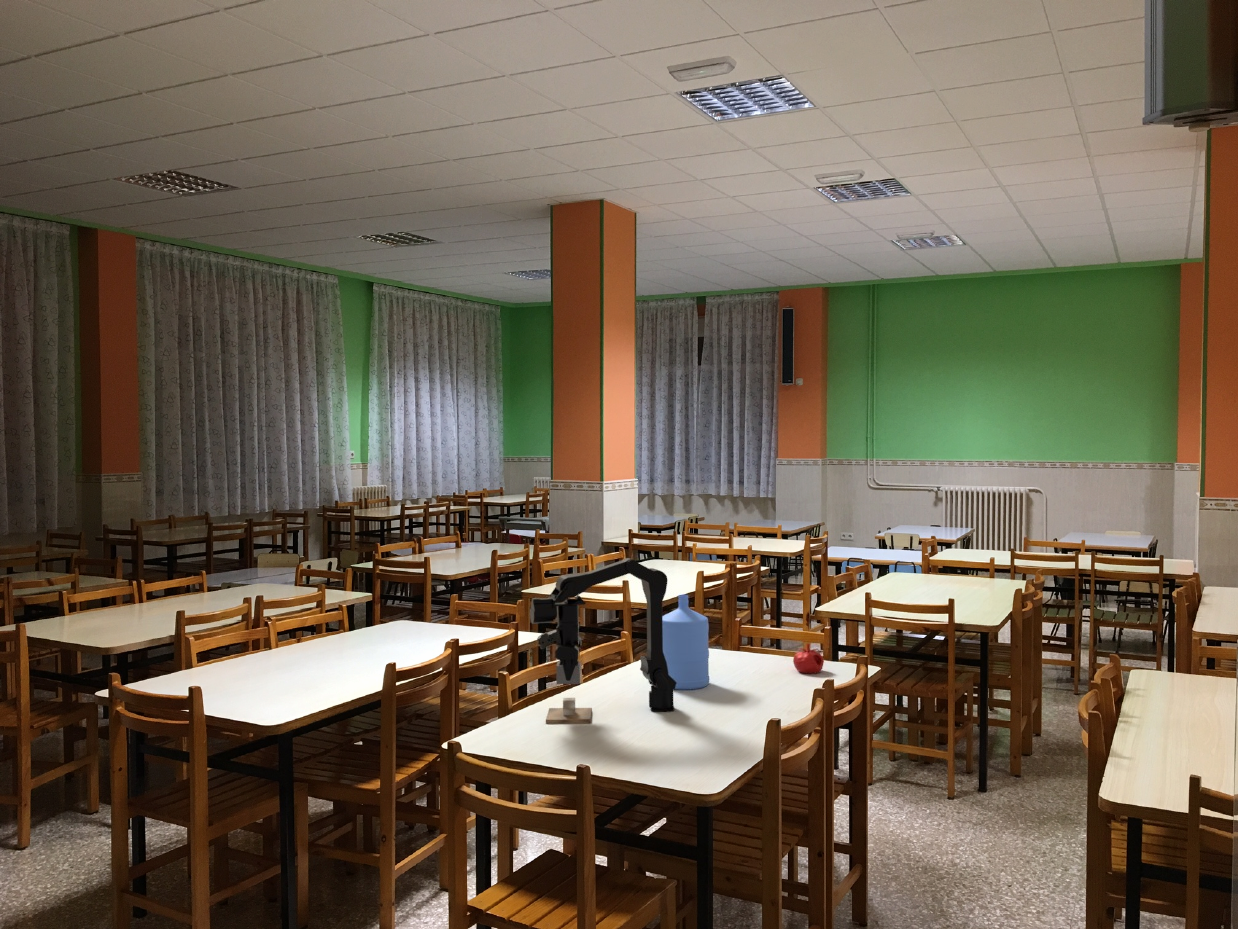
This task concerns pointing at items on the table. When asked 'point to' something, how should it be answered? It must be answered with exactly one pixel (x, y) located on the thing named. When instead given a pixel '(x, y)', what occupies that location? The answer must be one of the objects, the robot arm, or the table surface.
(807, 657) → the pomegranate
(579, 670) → the grey cube shelf
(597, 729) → the table surface
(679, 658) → the water jug
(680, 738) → the table surface
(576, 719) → the post block
